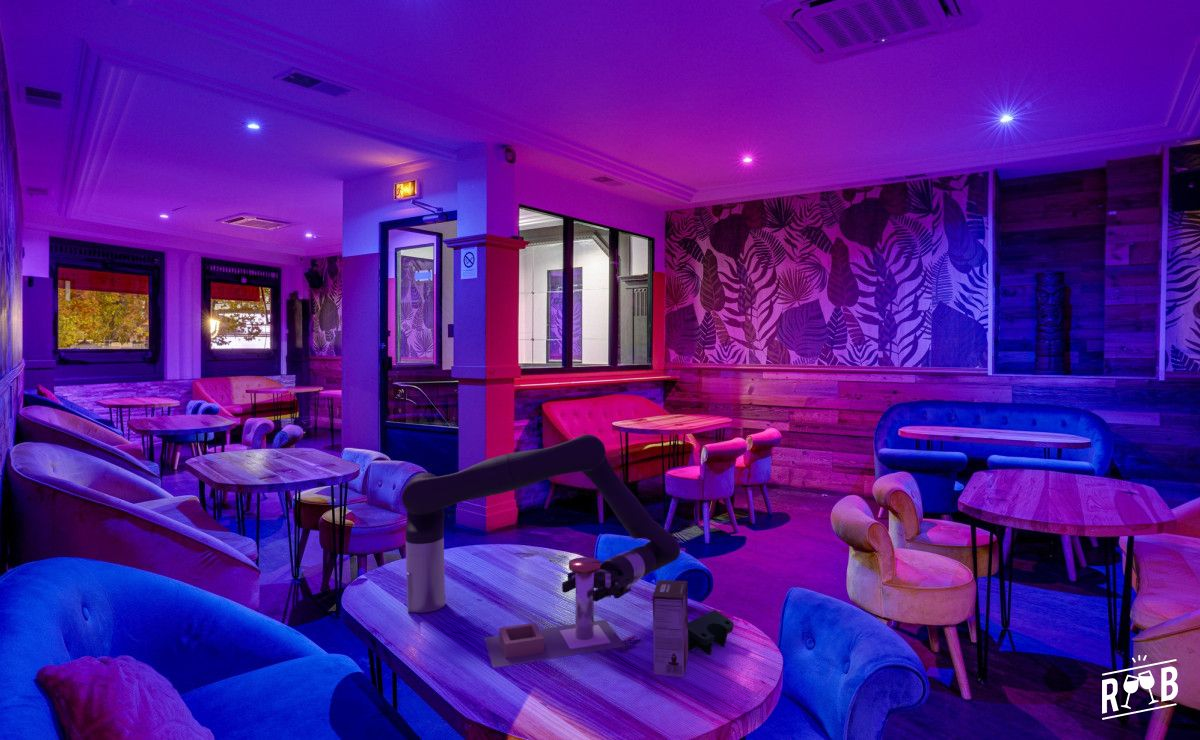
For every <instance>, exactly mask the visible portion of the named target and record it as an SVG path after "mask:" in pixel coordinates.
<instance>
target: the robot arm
mask: <svg viewBox="0 0 1200 740" xmlns="http://www.w3.org/2000/svg"><path fill="white" fill-rule="evenodd" d="M580 472H582V474H583V475H585V476H586V478H588V480H590V482H591V483H592V484H593V485H594V486H595V487H596V489H597V490H598V491H599V493H600V494H601V495H602V497H603V498H604V500H605V501H606V502H607V504H608V506H609V507H610V508H611V510H612V512H613V513H614V515H615V517H616V518H617V519H618V520H619V522H620V524H621V525H622V526H623V528H624V529H625V530H626V531H627V533H628V534H629V536H630V537H631V538H632V539H635V540H637V539H642V538H643V539H647V540H648V542H646V543H644V544H643V545H641V546H637V547H633V548H632V549H630V550H627V551H624V552H620V553H618V554H616V555H614V556H612V557H609V558H607V559H604V561H602V562H601V569H600V570H599V571H597V572H594V591H593V593H592V595H593V601H594V603H595V602H598V601H600V600H604V599H605V598H611V597H613V598H614V599H620V598H621V597H623V596H624V595H626V594H628V593H629V592H631V591H632V585H634V584H635V583H637V582H639V580H641V579H643V578H645V577H646V576H648V575H650V574H651V573H653V572H655V571H657V570H659V569H661V568H663V567H665V566H667V565H669V564H671V563H674V562H675V561H676V560H677V559H678V558H680V553H681V547H680V544H679V542H678V541H677V539H676V538H675V536H673V534H671V532H669V531H668V530H667V529H665V528H664V527H663V526H662V525H661V524H660V523H658V522H657V521H655V520H654V519H653V518H652V517H651V515H650V514H649V512H648V511H647V509H646V508H645V507H644V505H643V504H642V503H641V502H640V501H639V499H638V498H637V497H636V495H634V493H633V492H632V491H631V490H630V488H628V487H627V485H626V484H625V482H623V481H622V480H621V479H620V477H619V476H618V474H617V473H616V472H615V470H614V468H613V467H612V465H611V463H610V462H609V460H608V458H607V456H606V447H605V445H604V443H603V441H602V440H601V439H600V438H599V437H597V436H596V435H593V434H582V435H579V436H577V437H575V438H573V439H570V440H566V441H565V442H561V443H559V444H556V445H553V446H550V447H544V448H537V449H528V450H522V451H516V452H510V453H506V454H502V455H501V454H500V455H499V456H494V457H491V458H488V459H485V460H482V461H480V462H477V463H475V464H474V465H472V466H469V467H467V468H465V469H462V470H460V471H457V472H454V473H449V474H445V475H440V476H437V475H436V474H434V473H430V472H421V473H418V474H416V475H414V476H413V477H411V479H409V481H408V482H407V484H406V485H405V486H404V488H403V491H402V494H401V503H402V506H403V507H404V509H405V510H406V525H405V534H404V535H405V555H406V556H405V558H406V559H405V562H406V565H405V566H406V569H405V570H406V571H405V572H406V573H405V574H406V598H407V601H406V602H407V613H417V614H420V613H421V614H422V613H424V614H425V613H431V612H436V611H438V610H440V609H442V608H443V607H445V606H446V581H445V580H446V579H445V578H446V577H445V543H444V542H445V539H444V537H445V536H444V527H445V508H447V507H450V506H452V505H455V504H459V503H462V502H463V503H464V502H466V501H470V500H476V499H483V498H485V497H490V496H495V495H499V494H500V495H501V494H504V493H508V492H511V491H512V492H513V491H515V490H520V489H522V488H526V487H529V486H533V485H535V484H538V483H541V482H543V481H545V480H547V479H550V478H553V477H557V476H562V475H566V474H567V475H568V474H573V473H580ZM574 589H575V590H576V572H572V571H571V572H568V573H567V580H565V581H563V582H562V583H561V590H562V593H565V594H566V593H568V592H570V591H573V590H574Z"/></svg>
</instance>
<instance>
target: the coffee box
mask: <svg viewBox="0 0 1200 740" xmlns="http://www.w3.org/2000/svg"><path fill="white" fill-rule="evenodd" d="M688 583H689V582H688V580H668V579H667V580H666V579H665V580H664V579H663V580H662V579H659V580H657V582H656V585H655V588H654V592H653V595H652V624H653V625H652V629H653V630H652V631H653V633H652V634H653V635H652V636H653V638H652V639H653V642H652V643H653V675H655V676H663V677H666V676H667V677H677V678H685V676H686V673H687V666H688V660H689V652H688V622H689V614H688V613H689V609H688V607H689V606H688V605H689V602H688Z"/></svg>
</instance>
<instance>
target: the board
mask: <svg viewBox="0 0 1200 740" xmlns="http://www.w3.org/2000/svg"><path fill="white" fill-rule="evenodd" d="M498 630H499V635H492V636H487V637H484V638H483V641H484V643H485V646H486V649H487V653H488V656H489V659H490V660H489V661H490V663H491V666H492V669H495V668H496V669H497V668H501V667H502V668H503V667H508V666H513V665H515V666H516V665H520V664H526V663H527V664H528V663H532V662H538V661H539V662H540V661H545V660H546V661H547V660H551V659H552V660H553V659H558V658H563V657H568V656H575V655H581V654H589V653H595V652H600V651H606V650H612V649H618V648H621V649H622V650H623V652H624V653H625V654H626V653H627V651H626V645H625V643H624V642H623V641H622V639H621V638H620V636H618V634H617V632H615V630H614V628H612V626H611V625H610V623H608V621H607V620H606V619H601V620H600V619H599V620H594V636H593V638H591V639H588V640H581V639H578V638H576V636H575V623H573V624H566V625H560V626H559V625H558V626H554V627H553V626H552V627H547V628H539V626H538V624H537V622H531V623H524V624H518V625H511V626H503V627H499V628H498Z"/></svg>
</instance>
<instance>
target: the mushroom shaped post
mask: <svg viewBox="0 0 1200 740" xmlns="http://www.w3.org/2000/svg"><path fill="white" fill-rule="evenodd" d="M601 563H602V562H601V560H599V559H597V558H595V557H587V556H585V557H583V556H582V557H581V556H580V557H575V558H572V559H570V560H569V561H568V570H569V571H571V572H576V588H575V606H574V607H575V611H574V612H575V620H574V621H575V623H574V624H575V636H576V638H578V639H581V640H588V639H591V638H593V636H594V621H595V619H594V618H595V604H594V603H595V601H593V595H592V593H593V591H594V590H595V588H594V572H597V571H599V570H600V569H601Z"/></svg>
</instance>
